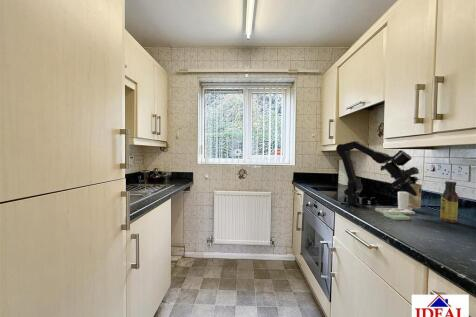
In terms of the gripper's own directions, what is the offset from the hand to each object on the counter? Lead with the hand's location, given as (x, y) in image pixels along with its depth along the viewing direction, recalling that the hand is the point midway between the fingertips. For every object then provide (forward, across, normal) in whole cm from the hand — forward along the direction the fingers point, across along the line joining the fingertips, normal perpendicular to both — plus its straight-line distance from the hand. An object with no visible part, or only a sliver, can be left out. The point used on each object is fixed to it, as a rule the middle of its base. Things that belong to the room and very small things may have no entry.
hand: (418, 195), depth 121 cm
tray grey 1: (-1, -2, +18) cm, 18 cm away
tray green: (+4, -9, +12) cm, 16 cm away
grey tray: (+2, +5, +14) cm, 16 cm away
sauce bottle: (+16, +7, +1) cm, 17 cm away
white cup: (0, +16, +17) cm, 23 cm away
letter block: (+4, 0, +6) cm, 7 cm away
